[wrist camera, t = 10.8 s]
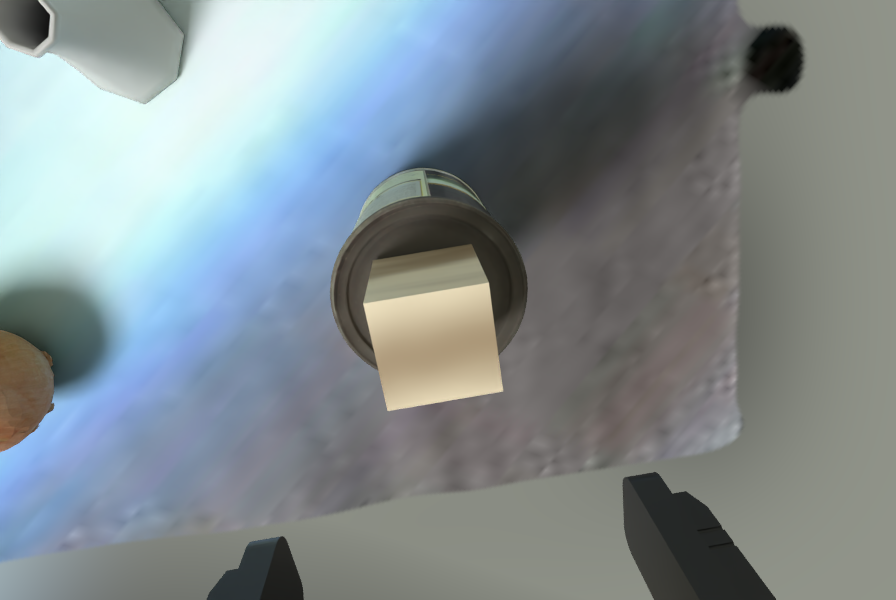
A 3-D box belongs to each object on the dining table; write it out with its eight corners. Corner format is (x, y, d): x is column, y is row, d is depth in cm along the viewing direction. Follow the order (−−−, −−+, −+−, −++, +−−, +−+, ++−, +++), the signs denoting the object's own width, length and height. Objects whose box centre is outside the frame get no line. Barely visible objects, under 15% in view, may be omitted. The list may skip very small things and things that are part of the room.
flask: (99, -49, 32) (-29, -113, 23) (205, 32, 34) (128, 4, 24) (49, 52, 34) (-89, 31, 24) (153, 123, 36) (62, 130, 26)
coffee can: (492, 167, 38) (536, 199, 25) (485, 296, 42) (520, 383, 29) (353, 164, 37) (323, 196, 24) (358, 296, 41) (335, 386, 28)
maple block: (373, 260, 26) (363, 303, 20) (471, 243, 26) (488, 282, 20) (392, 348, 27) (387, 410, 22) (483, 333, 28) (502, 391, 22)
